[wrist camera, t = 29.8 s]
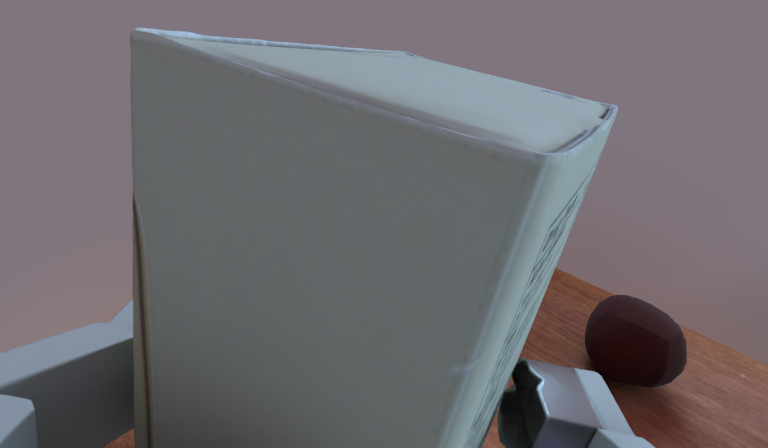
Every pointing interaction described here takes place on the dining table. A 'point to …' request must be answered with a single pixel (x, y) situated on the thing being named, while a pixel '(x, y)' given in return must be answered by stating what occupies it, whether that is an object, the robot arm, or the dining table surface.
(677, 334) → the potato
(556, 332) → the dining table surface
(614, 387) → the dining table surface
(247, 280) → the cosmetic box
